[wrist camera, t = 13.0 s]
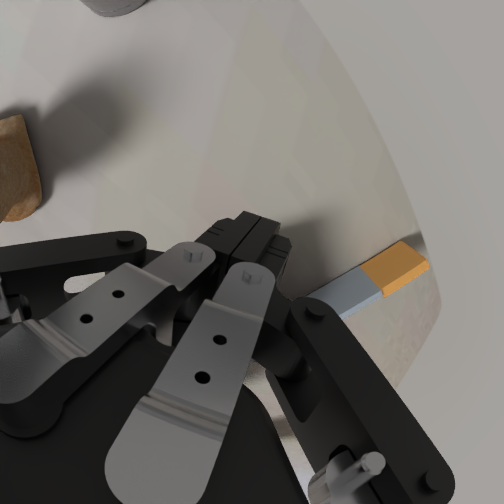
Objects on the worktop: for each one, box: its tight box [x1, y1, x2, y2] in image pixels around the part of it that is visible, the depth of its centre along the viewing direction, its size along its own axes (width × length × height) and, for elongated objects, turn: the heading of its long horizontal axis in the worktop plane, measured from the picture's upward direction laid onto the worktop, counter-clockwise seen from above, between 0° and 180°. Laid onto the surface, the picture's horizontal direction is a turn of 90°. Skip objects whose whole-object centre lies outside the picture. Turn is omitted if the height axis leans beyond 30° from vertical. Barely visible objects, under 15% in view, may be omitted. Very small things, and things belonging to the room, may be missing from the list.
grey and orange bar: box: [306, 241, 429, 320], centre depth 39 cm, size 19×2×7 cm, turn 120°
